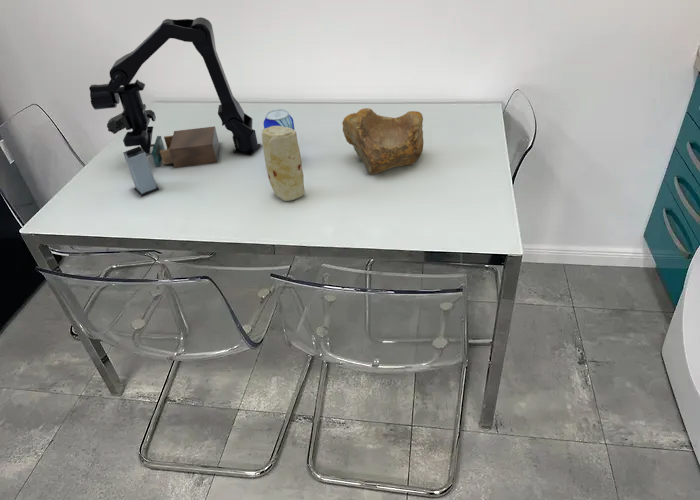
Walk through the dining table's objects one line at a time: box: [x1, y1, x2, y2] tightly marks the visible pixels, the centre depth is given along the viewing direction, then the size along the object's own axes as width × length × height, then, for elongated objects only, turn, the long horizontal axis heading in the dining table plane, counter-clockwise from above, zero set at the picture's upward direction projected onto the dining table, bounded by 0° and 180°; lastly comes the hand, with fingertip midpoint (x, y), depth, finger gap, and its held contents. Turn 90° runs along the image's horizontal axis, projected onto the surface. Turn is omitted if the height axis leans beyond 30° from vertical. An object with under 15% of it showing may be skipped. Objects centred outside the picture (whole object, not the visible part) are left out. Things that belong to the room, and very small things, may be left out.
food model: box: [261, 126, 306, 202], centre depth 147 cm, size 10×7×20 cm
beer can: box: [262, 108, 296, 131], centre depth 162 cm, size 8×8×16 cm
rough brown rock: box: [341, 107, 424, 175], centre depth 158 cm, size 23×17×15 cm
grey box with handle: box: [122, 145, 160, 198], centre depth 157 cm, size 5×5×13 cm
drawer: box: [140, 135, 173, 167], centre depth 172 cm, size 17×11×5 cm, turn 97°
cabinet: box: [169, 126, 220, 169], centre depth 173 cm, size 13×12×6 cm
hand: (148, 153), depth 172 cm, fingers closed, pressing on drawer
